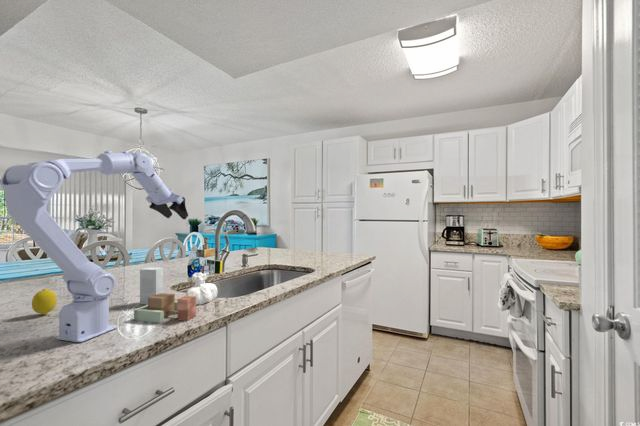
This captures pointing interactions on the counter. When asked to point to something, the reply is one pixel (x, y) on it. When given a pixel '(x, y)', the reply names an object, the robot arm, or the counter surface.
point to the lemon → (44, 301)
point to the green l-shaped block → (150, 314)
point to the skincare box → (150, 283)
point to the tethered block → (167, 304)
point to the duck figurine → (202, 289)
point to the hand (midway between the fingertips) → (177, 216)
